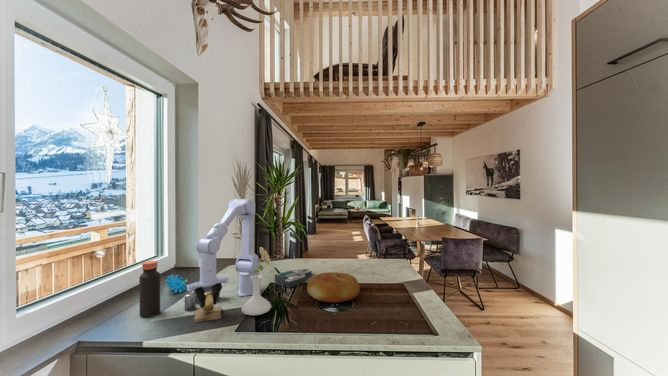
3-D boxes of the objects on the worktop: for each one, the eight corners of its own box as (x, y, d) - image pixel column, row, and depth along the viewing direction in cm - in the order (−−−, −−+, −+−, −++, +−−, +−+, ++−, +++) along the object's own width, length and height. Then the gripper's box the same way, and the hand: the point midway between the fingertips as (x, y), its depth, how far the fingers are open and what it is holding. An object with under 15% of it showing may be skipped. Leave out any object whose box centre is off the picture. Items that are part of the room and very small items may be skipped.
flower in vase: (260, 320, 104) (260, 252, 104) (234, 315, 108) (234, 250, 108) (279, 306, 117) (278, 245, 117) (255, 302, 121) (255, 243, 121)
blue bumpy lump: (172, 293, 127) (163, 275, 131) (164, 301, 128) (156, 283, 132) (193, 288, 137) (184, 272, 141) (185, 296, 139) (177, 279, 142)
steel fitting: (196, 306, 117) (196, 291, 117) (195, 310, 113) (195, 295, 113) (185, 308, 115) (185, 293, 115) (184, 312, 112) (184, 296, 112)
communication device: (318, 276, 158) (318, 260, 158) (290, 289, 137) (290, 271, 137) (301, 273, 164) (301, 258, 164) (272, 284, 144) (272, 267, 144)
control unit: (219, 296, 127) (219, 281, 127) (219, 301, 123) (219, 284, 123) (194, 300, 123) (194, 284, 123) (193, 304, 119) (193, 287, 119)
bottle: (155, 317, 107) (155, 264, 107) (135, 318, 106) (135, 265, 106) (163, 309, 114) (163, 259, 114) (144, 310, 113) (144, 260, 113)
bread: (325, 284, 145) (324, 264, 145) (367, 292, 133) (367, 270, 133) (297, 299, 125) (297, 276, 125) (344, 310, 113) (344, 285, 113)
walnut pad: (221, 308, 114) (221, 306, 114) (221, 318, 106) (221, 315, 106) (196, 312, 111) (196, 309, 111) (194, 322, 103) (194, 319, 103)
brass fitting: (213, 306, 111) (213, 290, 111) (214, 310, 108) (214, 294, 108) (202, 308, 110) (202, 292, 110) (202, 312, 106) (202, 296, 106)
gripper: (223, 264, 116) (223, 297, 116) (184, 271, 107) (184, 307, 107) (230, 267, 111) (230, 302, 111) (190, 275, 102) (190, 313, 102)
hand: (208, 305), depth 109 cm, fingers closed on brass fitting, 4 cm apart
